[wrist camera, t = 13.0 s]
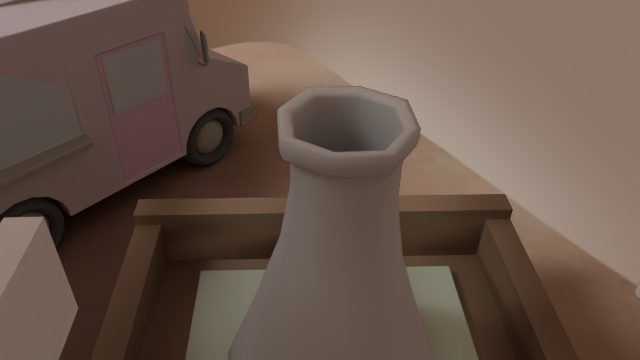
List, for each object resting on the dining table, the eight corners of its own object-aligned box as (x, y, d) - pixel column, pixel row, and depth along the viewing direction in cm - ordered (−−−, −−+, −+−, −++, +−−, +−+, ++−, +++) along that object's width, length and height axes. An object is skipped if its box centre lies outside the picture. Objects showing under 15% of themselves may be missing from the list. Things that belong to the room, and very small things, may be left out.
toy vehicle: (266, 147, 35) (253, -114, 26) (-59, 339, 23) (-293, -25, 14) (176, 100, 40) (138, -135, 31) (-134, 239, 28) (-346, -81, 19)
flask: (448, 316, 20) (510, 66, 14) (437, 528, 14) (532, 262, 8) (261, 280, 21) (245, 37, 15) (183, 463, 16) (109, 190, 10)
